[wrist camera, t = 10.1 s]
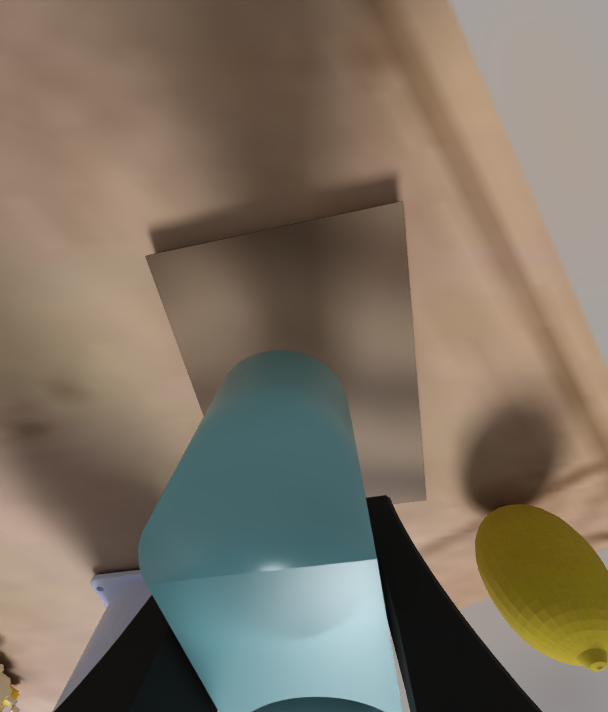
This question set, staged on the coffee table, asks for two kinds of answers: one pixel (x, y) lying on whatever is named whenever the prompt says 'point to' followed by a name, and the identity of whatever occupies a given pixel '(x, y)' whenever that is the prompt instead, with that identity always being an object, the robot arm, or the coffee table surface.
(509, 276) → the coffee table surface
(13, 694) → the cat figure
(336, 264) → the serving board
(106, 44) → the coffee table surface
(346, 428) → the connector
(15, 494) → the coffee table surface
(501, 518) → the lemon
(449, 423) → the coffee table surface
